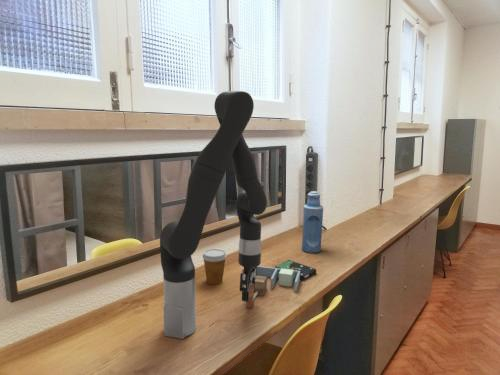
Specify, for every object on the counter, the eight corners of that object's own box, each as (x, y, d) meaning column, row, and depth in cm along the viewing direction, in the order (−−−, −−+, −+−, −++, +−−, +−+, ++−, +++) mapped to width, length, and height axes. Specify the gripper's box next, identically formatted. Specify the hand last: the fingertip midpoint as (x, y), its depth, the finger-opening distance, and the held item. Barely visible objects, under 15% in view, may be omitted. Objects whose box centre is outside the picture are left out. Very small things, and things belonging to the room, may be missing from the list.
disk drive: (316, 275, 151) (288, 265, 161) (316, 268, 151) (288, 259, 161) (302, 282, 144) (273, 271, 154) (303, 276, 143) (274, 265, 153)
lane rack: (296, 292, 134) (296, 282, 134) (247, 285, 139) (247, 275, 138) (299, 280, 145) (300, 270, 144) (254, 274, 149) (254, 265, 149)
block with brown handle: (255, 309, 121) (256, 287, 120) (241, 306, 123) (242, 285, 121) (266, 289, 136) (267, 269, 135) (254, 287, 138) (254, 267, 136)
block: (291, 286, 139) (291, 274, 138) (278, 285, 140) (279, 273, 139) (293, 281, 143) (293, 269, 143) (280, 280, 145) (281, 268, 144)
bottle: (319, 247, 184) (322, 190, 179) (321, 254, 174) (325, 194, 169) (301, 246, 185) (303, 189, 180) (302, 253, 175) (304, 193, 170)
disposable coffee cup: (229, 277, 146) (229, 249, 144) (221, 287, 137) (221, 258, 135) (208, 274, 148) (207, 247, 146) (198, 284, 139) (198, 255, 137)
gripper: (255, 259, 112) (254, 307, 115) (265, 245, 126) (263, 288, 128) (233, 256, 114) (231, 303, 116) (244, 242, 127) (243, 285, 130)
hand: (248, 295), depth 122 cm, fingers open, 8 cm apart
